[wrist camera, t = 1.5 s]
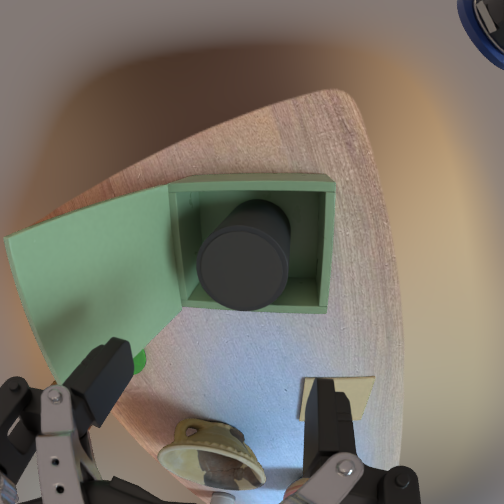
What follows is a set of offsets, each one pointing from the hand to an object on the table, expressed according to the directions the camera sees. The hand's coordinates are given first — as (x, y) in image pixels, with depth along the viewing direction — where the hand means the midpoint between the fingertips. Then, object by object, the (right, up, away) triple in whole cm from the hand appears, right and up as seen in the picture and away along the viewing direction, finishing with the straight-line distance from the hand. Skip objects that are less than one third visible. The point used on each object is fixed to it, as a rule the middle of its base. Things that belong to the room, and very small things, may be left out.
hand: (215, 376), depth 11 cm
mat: (+14, -17, +26) cm, 34 cm away
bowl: (-4, -26, +33) cm, 42 cm away
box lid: (-7, +3, +7) cm, 10 cm away
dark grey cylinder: (+2, +7, +18) cm, 20 cm away
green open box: (+2, +8, +19) cm, 21 cm away
